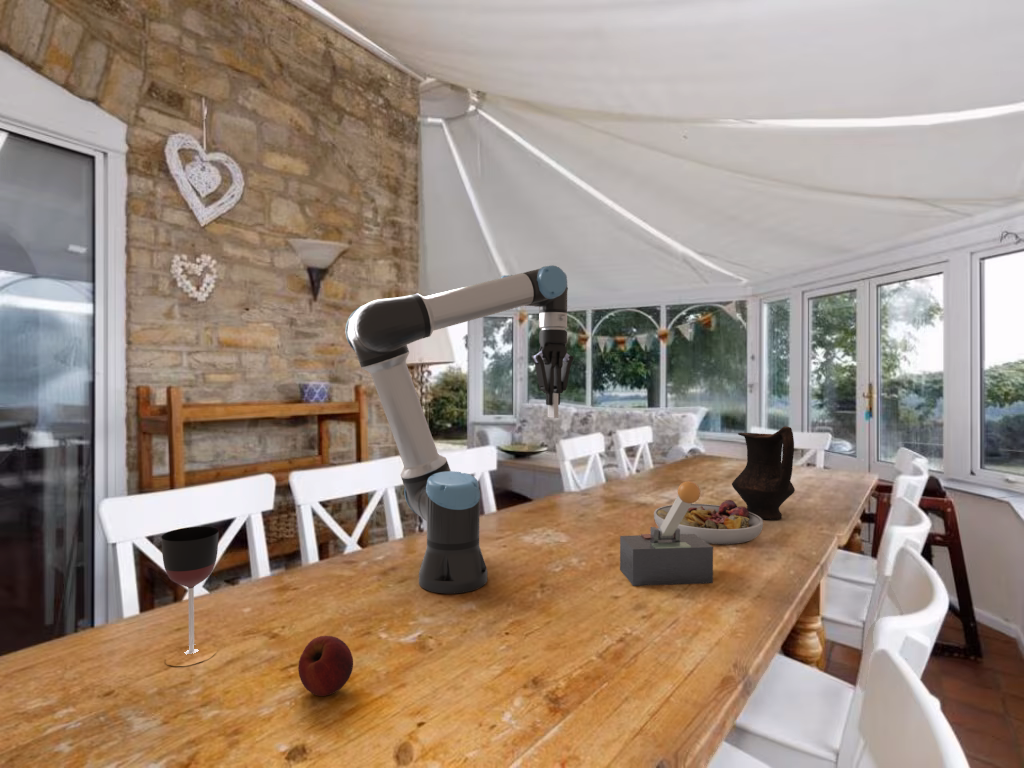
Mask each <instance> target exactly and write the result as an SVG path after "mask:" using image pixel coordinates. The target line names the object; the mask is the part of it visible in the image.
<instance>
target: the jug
mask: <svg viewBox="0 0 1024 768" xmlns="http://www.w3.org/2000/svg"><path fill="white" fill-rule="evenodd" d="M737 435H739V436H741V437H743V438H744V440H745V445H746V459H747V460H746V465H745V467H744V469H743V470H742V471H741V472H740V473H739V474H738V476H737V477H736V478H734V480H733V481H732V483H731V486H732V488H733V489H734V490H735V492H736V493H737V494H738V495H739V497H740V498H741V499H742V501H744V503H745V504H746V509H747V510H748V512H751V513H753V514H756V515H757V516H759V517H760V518H761V519H762V520H773V521H774V520H781V519H782V518H783V517H782V515H783V514H782V512H780V507H781V505H783V503H784V502H786V501H787V500H788V498H789V497H791V496H792V495H793V494H794V493H795V490H796V489H795V487H794V485H793V482H792V481H791V480H792V475H793V464H794V461H793V460H794V454H795V439H794V432H793V429H792V427H791V426H783V427H781V428H780V429H779V430H778V431H776V432H775V433H757V432H756V433H755V432H738V433H737Z"/></svg>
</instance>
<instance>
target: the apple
mask: <svg viewBox="0 0 1024 768" xmlns="http://www.w3.org/2000/svg"><path fill="white" fill-rule="evenodd" d="M297 668H298V676H299V679H300V681H301V684H302V685H303V687H304V688H305V689H306V690H307V691H308V692H310V693H311V694H312V695H315V696H319V697H324V696H325V697H326V695H327V696H329V695H332V694H334V692H335V693H336V692H338V691H339V690H340V689H342V688H343V686H346V683H347V682H348V681H349V679H350V678H351V675H352V673H353V668H354V658H353V654H352V652H351V649H350V647H348V645H347V644H346V643H345V642H344V641H343V640H342V639H340V638H339V637H336V636H332V635H321V636H317V637H315V638H313V639H312V640H310V641H309V642H308V644H307V645H306V646H304V649H303V650H302V652H301V654H300V658H299V660H298V667H297Z"/></svg>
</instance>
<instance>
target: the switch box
mask: <svg viewBox="0 0 1024 768" xmlns="http://www.w3.org/2000/svg"><path fill="white" fill-rule="evenodd" d="M657 528H658V527H655V526H651V527H650V533H641V534H639V535H619V539H620V540H619V544H620V545H619V570H620V571H621V573H622V574H623V575H624V577H625V578H626V579H627V580H628V581H629V582H630V584H631V585H632V587H635V586H636V587H639V586H664V585H665V586H667V585H671V586H672V585H696V584H700V585H701V584H714V583H713V582H714V546H712V544H708V543H706V542H705V541H704V540H702V539H701V538H699V537H698V536H696V535H695V534H680V529H679V528H677V529H676V531H675V532H674V537H673V539H661V540H659V539H658V529H657Z"/></svg>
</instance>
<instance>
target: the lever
mask: <svg viewBox="0 0 1024 768" xmlns="http://www.w3.org/2000/svg"><path fill="white" fill-rule="evenodd" d="M700 496H701V488H700V487H699V486H698V485H697V483H695V482H693V481H688V480H686V481H683V482H681V484H680V485H679V486H678V488H677V496H676V498H675V500H674V502H673V503H672V504H671V505H672V507H671V509H670V511H669V512H668V514H667V516H666V518H665V520H664V521H663V523H662V525H661V527H660V528H659V527H656V528H657V529H658V539H659V540H661V539H673V537H674V532H675V531H676V529H677V527H678V526H679V524H680V522H681V521H682V519H683V517H684V516H685V514H686V512H687V511H688V509H689V507H690V506H691V504H695V503H696V502H697V501H698V500H699V499H700Z"/></svg>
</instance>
